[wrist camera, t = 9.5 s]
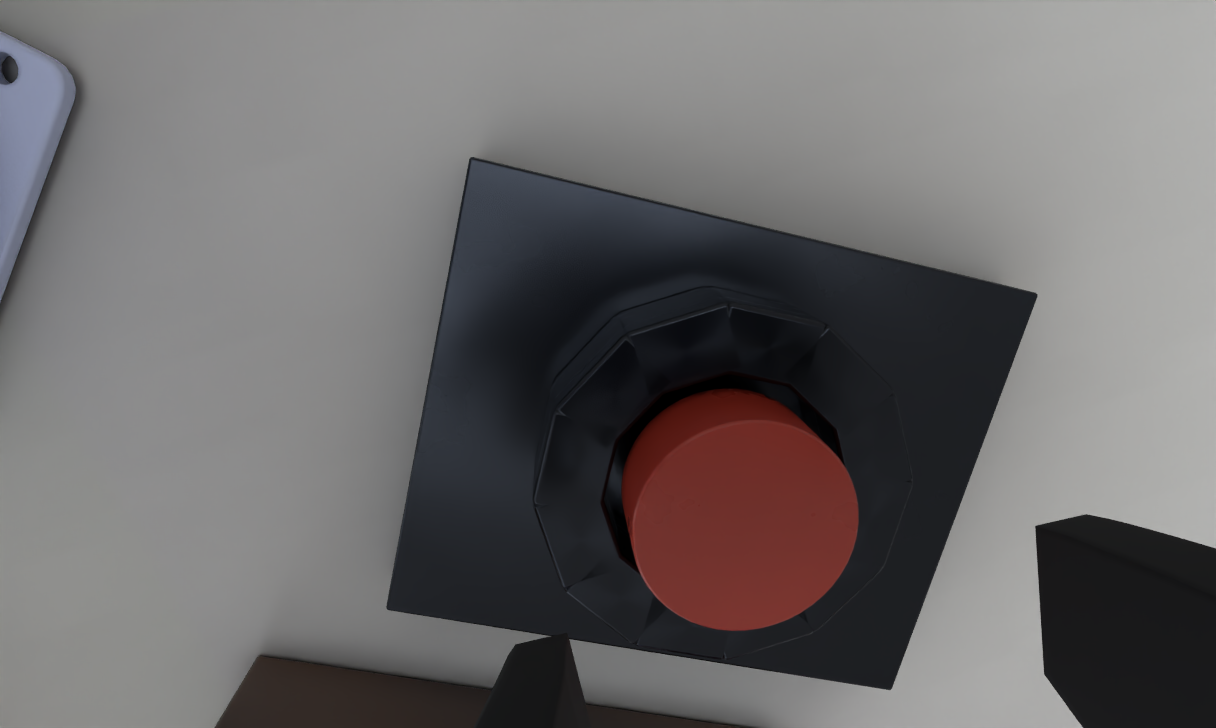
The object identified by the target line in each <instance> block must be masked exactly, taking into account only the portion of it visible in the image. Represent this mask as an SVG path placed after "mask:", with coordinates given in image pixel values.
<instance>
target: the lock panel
mask: <svg viewBox="0 0 1216 728" xmlns="http://www.w3.org/2000/svg"><path fill="white" fill-rule="evenodd" d="M491 691H492V690H486V689H479V688H472V687H466V686H459V685H452V684H446V683H439V682H432V681H425V680H419V679H412V678H405V677H398V676H392V675H385V674H378V673H371V672H365V671H358V670H351V669H344V668H338V667H331V666H324V665H318V664H311V663H304V662H297V661H291V660H284V659H277V658H270V657H264V656H258V657H257V658H256V660H255V661H254V663H253V665H252V666H251V668H250V670H249V671H248V673H247V675H246V676H245V678H244V680H243V681H242V683H241V685H240V686H239V688H238V690H237V691H236V693H235V695H234V696H233V698H232V700H231V701H230V703H229V705H228V706H227V708H226V710H225V711H224V713H223V715H222V716H221V718H220V720H219V721H218V723H217V725H216V726H215V728H474V726H475V724H476V722H477V720H478V718H479V716H480V714H481V712H482V710H483V708H484V706H485V703H486V701H487V699H488V697H489V695H490V693H491ZM586 708H587V712H588V716H589V720H590V724H591V728H742V727H735V726H728V725H722V724H715V723H708V722H701V721H695V720H688V719H681V718H675V717H668V716H661V715H654V714H648V713H641V712H634V711H627V710H621V709H614V708H607V707H600V706H594V705H587V704H586Z"/></svg>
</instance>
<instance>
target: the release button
mask: <svg viewBox="0 0 1216 728" xmlns="http://www.w3.org/2000/svg"><path fill="white" fill-rule="evenodd" d="M621 495H622V504H623V509H624V514H625V518H626V523H627V527H628V532H629V536H630V541H631V545H632V550H633V554H634V558H635V562H636V565H637V567H638V570H639V572H640V574H641V576H642V578H643V580H644V582H645V583H646V585H647V587H648V588H649V589H650V590H651V592H652V593H653V594H654V595H655V597H656V598H657V599H658V600H659V601H660V602H662V603H663V604H664V605H665V606H666V607H667V608H669V609H670V610H671V611H673V612H674V613H676V614H677V615H679V616H681V617H683V618H685V619H686V620H688V621H690V622H693V623H696V624H699V625H701V626H705V627H709V628H713V629H719V630H729V631H745V630H752V629H760V628H764V627H768V626H772V625H775V624H777V623H780V622H783V621H785V620H788V619H790V618H792V617H794V616H796V615H798V614H800V613H801V612H803V611H804V610H806V609H807V608H809V607H810V606H812V605H813V604H814V603H815V602H816V601H818V600H819V599H820V598H821V597H822V596H823V595H824V594H825V593H826V592H827V591H828V590H829V589H830V588H831V587H832V586H833V584H834V583H835V582H836V580H837V579H838V578H839V576H840V575H841V573H842V572H843V570H844V568H845V566H846V565H847V563H848V561H849V558H850V556H851V554H852V551H853V548H854V545H855V541H856V537H857V530H858V502H857V496H856V492H855V489H854V485H853V482H852V480H851V478H850V475H849V473H848V471H847V469H846V468H845V466H844V465H843V463H842V462H841V460H840V459H839V457H838V456H837V455H836V454H835V453H834V452H833V451H832V450H831V449H830V447H828V446H827V445H826V444H825V443H824V442H823V441H822V440H821V439H820V438H819V437H818V436H817V435H816V434H815V433H814V432H813V431H812V430H811V429H810V428H809V427H808V426H807V425H806V424H805V423H804V422H803V421H802V420H801V419H800V418H799V417H798V416H797V415H796V414H795V413H794V412H792V411H791V410H790V409H789V408H788V407H786V406H785V405H783V404H782V403H780V402H778V401H777V400H775V399H773V398H771V397H768V396H766V395H764V394H761V393H757V392H754V391H750V390H743V389H726V388H723V389H714V390H708V391H704V392H700V393H696V394H693V395H691V396H688V397H685V398H683V399H681V400H679V401H677V402H675V403H674V404H672V405H670V406H669V407H667V408H666V409H664V410H663V411H662V412H660V413H659V414H658V415H657V416H656V417H655V418H653V419H652V420H651V421H650V422H649V423H648V425H647V426H646V427H645V428H644V429H643V430H642V432H641V433H640V434H639V436H638V437H637V439H636V440H635V442H634V444H633V446H632V448H631V450H630V452H629V454H628V457H627V460H626V463H625V466H624V470H623V476H622V486H621Z"/></svg>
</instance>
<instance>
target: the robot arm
mask: <svg viewBox="0 0 1216 728" xmlns="http://www.w3.org/2000/svg"><path fill="white" fill-rule="evenodd" d="M8 56H11V57H12V58H14V59H15V61H16V64H17V66H18V77H17V78H16V80H15V81H14V82H13V83H11V84H10V83H9V82H8V81H7V80H5V77H4V75H3V73H2V62H3V61H4V60H5V58H6V57H8ZM75 93H76V87H75V83H74V79H73V76H72V75H71V74H70V72H69V71H68V69H67V68H66V66H64V65H63V64H62V63H60V62H59V61H58V60H56V59H55V58H53V57H51V56H49V55H47V54H45V53H43V52H41V51H39V50H37V49H35V48H33V47H31V46H29V45H27V44H25V43H23V42H21V41H20V40H18V39H16V38H14V37H12V36H10V35H8V34H6V33H4V32H2V31H0V302H1V299H2V296H3V294H4V291H5V288H6V285H7V283H8V280H9V277H10V275H11V272H12V269H13V266H14V264H15V261H16V258H17V256H18V253H19V250H20V247H21V245H22V242H23V239H24V236H25V234H26V231H27V228H28V226H29V223H30V220H31V217H32V215H33V212H34V209H35V206H36V204H37V201H38V198H39V196H40V193H41V190H42V187H43V185H44V182H45V179H46V176H47V174H48V171H49V168H50V166H51V163H52V160H53V157H54V155H55V152H56V149H57V147H58V144H59V141H60V138H61V136H62V133H63V130H64V127H65V125H66V122H67V119H68V117H69V114H70V111H71V108H72V106H73V103H74V100H75ZM1035 528H1036V545H1037V562H1038V578H1039V595H1040V612H1041V628H1042V645H1043V661H1044V674H1045V676H1046V677H1047V679H1048V680H1049V681H1050V683H1051V684H1052V686H1053V687H1054V688H1055V690H1056V691H1057V692H1058V694H1059V695H1060V697H1061V698H1062V699H1063V701H1064V702H1065V703H1066V705H1067V706H1068V708H1069V709H1070V710H1071V712H1072V713H1073V715H1074V716H1075V717H1076V719H1077V720H1078V721H1079V723H1080V724H1081V725H1082V726H1083V728H1216V548H1212V547H1209V546H1205V545H1202V544H1198V543H1195V542H1192V541H1188V540H1185V539H1181V538H1178V537H1174V536H1171V535H1167V534H1164V533H1160V532H1157V531H1153V530H1149V529H1146V528H1142V527H1138V526H1135V525H1131V524H1127V523H1123V522H1119V521H1115V520H1111V519H1106V518H1101V517H1097V516H1092V515H1087V514H1086V515H1081V516H1077V517H1072V518H1068V519H1064V520H1059V521H1055V522H1050V523H1046V524H1042V525H1037V526H1035ZM474 728H591V724H590V720H589V716H588V712H587V708H586V704H585V700H584V696H583V692H582V688H581V684H580V681H579V677H578V673H577V669H576V665H575V661H574V657H573V653H572V649H571V645H570V641H569V637H568V633H564V634H559V635H555V636H551V637H546V638H542V639H537V640H533V641H529V642H524V643H520V644H516V645H515V646H514V648H513V649H512V650H511V652H510V653H509V655H508V657H507V659H506V661H505V663H504V665H503V668H502V670H501V672H500V674H499V676H498V678H497V680H496V683H495V685H494V687H493V689H492V691H491V693H490V695H489V697H488V699H487V701H486V703H485V706H484V708H483V710H482V712H481V714H480V716H479V718H478V720H477V722H476V724H475V726H474Z"/></svg>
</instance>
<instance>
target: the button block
mask: <svg viewBox="0 0 1216 728" xmlns="http://www.w3.org/2000/svg"><path fill="white" fill-rule="evenodd" d="M1036 299H1037V294H1036V293H1034V292H1030V291H1026V290H1022V289H1018V288H1014V287H1010V286H1006V285H1002V284H998V283H994V282H989V281H985V280H981V279H977V278H973V277H969V276H965V275H960V274H956V273H952V272H948V271H944V270H940V269H936V268H931V267H927V266H923V265H919V264H915V263H911V262H907V261H902V260H898V259H894V258H890V257H886V256H882V255H878V254H873V253H869V252H865V251H861V250H857V249H853V248H848V247H844V246H840V245H836V244H832V243H828V242H824V241H819V240H815V239H811V238H807V237H803V236H799V235H795V234H790V233H786V232H782V231H778V230H774V229H770V228H766V227H761V226H757V225H753V224H749V223H745V222H741V221H737V220H732V219H728V218H724V217H720V216H716V215H712V214H708V213H703V212H699V211H695V210H691V209H687V208H683V207H679V206H674V205H670V204H666V203H662V202H658V201H654V200H649V199H645V198H641V197H637V196H633V195H629V194H625V193H620V192H616V191H612V190H608V189H604V188H600V187H596V186H591V185H587V184H583V183H579V182H575V181H571V180H567V179H562V178H558V177H554V176H550V175H546V174H542V173H538V172H533V171H529V170H525V169H521V168H517V167H513V166H509V165H504V164H500V163H496V162H492V161H488V160H484V159H480V158H474V157H471V158H470V159H469V164H468V169H467V174H466V180H465V185H464V191H463V196H462V201H461V207H460V212H459V218H458V223H457V228H456V234H455V239H454V245H453V250H452V255H451V261H450V266H449V272H448V277H447V282H446V288H445V293H444V299H443V304H442V309H441V315H440V320H439V326H438V331H437V336H436V342H435V347H434V353H433V358H432V363H431V369H430V374H429V379H428V385H427V390H426V396H425V401H424V406H423V412H422V417H421V423H420V428H419V433H418V439H417V444H416V450H415V455H414V460H413V466H412V471H411V477H410V482H409V487H408V493H407V498H406V504H405V509H404V514H403V520H402V525H401V531H400V536H399V541H398V547H397V552H396V558H395V563H394V568H393V574H392V579H391V584H390V590H389V595H388V601H387V606H386V608H387V610H392V611H398V612H404V613H410V614H417V615H423V616H429V617H435V618H442V619H448V620H454V621H460V622H467V623H473V624H479V625H486V626H492V627H498V628H504V629H511V630H517V631H523V632H529V633H536V634H542V635H548V636H555V635H559V634H564V633H568V637H569V639H573V640H579V641H586V642H592V643H598V644H605V645H611V646H617V647H623V648H630V649H636V650H642V651H648V652H655V653H661V654H667V655H673V656H680V657H686V658H692V659H698V660H705V661H711V662H717V663H724V664H730V665H736V666H742V667H749V668H755V669H761V670H767V671H774V672H780V673H786V674H792V675H799V676H805V677H811V678H817V679H824V680H830V681H836V682H843V683H849V684H855V685H861V686H868V687H874V688H880V689H886V690H891V689H892V687H893V684H894V681H895V678H896V676H897V673H898V670H899V668H900V665H901V662H902V660H903V657H904V654H905V651H906V649H907V646H908V643H909V641H910V638H911V635H912V633H913V630H914V627H915V625H916V622H917V619H918V616H919V614H920V611H921V608H922V606H923V603H924V600H925V598H926V595H927V592H928V590H929V587H930V584H931V581H932V579H933V576H934V573H935V571H936V568H937V565H938V563H939V560H940V557H941V555H942V552H943V549H944V546H945V544H946V541H947V538H948V536H949V533H950V530H951V528H952V525H953V522H954V520H955V517H956V514H957V511H958V509H959V506H960V503H961V501H962V498H963V495H964V493H965V490H966V487H967V484H968V482H969V479H970V476H971V474H972V471H973V468H974V466H975V463H976V460H977V458H978V455H979V452H980V449H981V447H982V444H983V441H984V439H985V436H986V433H987V431H988V428H989V425H990V423H991V420H992V417H993V414H994V412H995V409H996V406H997V404H998V401H999V398H1000V396H1001V393H1002V390H1003V388H1004V385H1005V382H1006V379H1007V377H1008V374H1009V371H1010V369H1011V366H1012V363H1013V361H1014V358H1015V355H1016V352H1017V350H1018V347H1019V344H1020V342H1021V339H1022V336H1023V334H1024V331H1025V328H1026V326H1027V323H1028V320H1029V317H1030V315H1031V312H1032V309H1033V307H1034V304H1035V301H1036ZM723 388H726V389H743V390H750V391H754V392H757V393H761V394H764V395H766V396H768V397H771V398H773V399H775V400H777V401H778V402H780V403H782V404H783V405H785V406H786V407H788V408H789V409H790V410H791V411H792V412H794V413H795V414H796V415H797V416H798V417H799V418H800V419H801V420H802V421H803V422H804V423H805V424H806V425H807V426H808V427H809V428H810V429H811V430H812V431H813V432H814V433H815V434H816V435H817V436H818V437H819V438H820V439H821V440H822V441H823V442H824V443H825V444H826V445H827V446H828V447H830V449H831V450H832V451H833V452H834V453H835V454H836V455H837V456H838V457H839V459H840V460H841V462H842V463H843V465H844V466H845V468H846V469H847V471H848V473H849V475H850V478H851V480H852V482H853V485H854V489H855V492H856V496H857V502H858V530H857V537H856V541H855V545H854V548H853V551H852V554H851V556H850V558H849V561H848V563H847V565H846V566H845V568H844V570H843V572H842V573H841V575H840V576H839V578H838V579H837V580H836V582H835V583H834V584H833V586H832V587H831V588H830V589H829V590H828V591H827V592H826V593H825V594H824V595H823V596H822V597H821V598H820V599H819V600H818V601H816V602H815V603H814V604H813V605H812V606H810V607H809V608H807V609H806V610H804V611H803V612H801V613H800V614H798V615H796V616H794V617H792V618H790V619H788V620H785V621H783V622H780V623H777V624H775V625H772V626H768V627H764V628H760V629H752V630H745V631H729V630H719V629H713V628H709V627H705V626H701V625H699V624H696V623H693V622H690V621H688V620H686V619H685V618H683V617H681V616H679V615H677V614H676V613H674V612H673V611H671V610H670V609H669V608H667V607H666V606H665V605H664V604H663V603H662V602H660V601H659V600H658V599H657V598H656V597H655V595H654V594H653V593H652V592H651V590H650V589H649V588H648V587H647V585H646V583H645V582H644V580H643V578H642V576H641V574H640V572H639V570H638V567H637V565H636V562H635V558H634V554H633V550H632V545H631V541H630V536H629V532H628V527H627V523H626V518H625V514H624V509H623V504H622V495H621V486H622V476H623V470H624V466H625V463H626V460H627V457H628V454H629V452H630V450H631V448H632V446H633V444H634V442H635V440H636V439H637V437H638V436H639V434H640V433H641V432H642V430H643V429H644V428H645V427H646V426H647V425H648V423H649V422H650V421H651V420H652V419H653V418H655V417H656V416H657V415H658V414H659V413H660V412H662V411H663V410H664V409H666V408H667V407H669V406H670V405H672V404H674V403H675V402H677V401H679V400H681V399H683V398H685V397H688V396H691V395H693V394H696V393H700V392H704V391H708V390H714V389H723Z"/></svg>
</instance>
